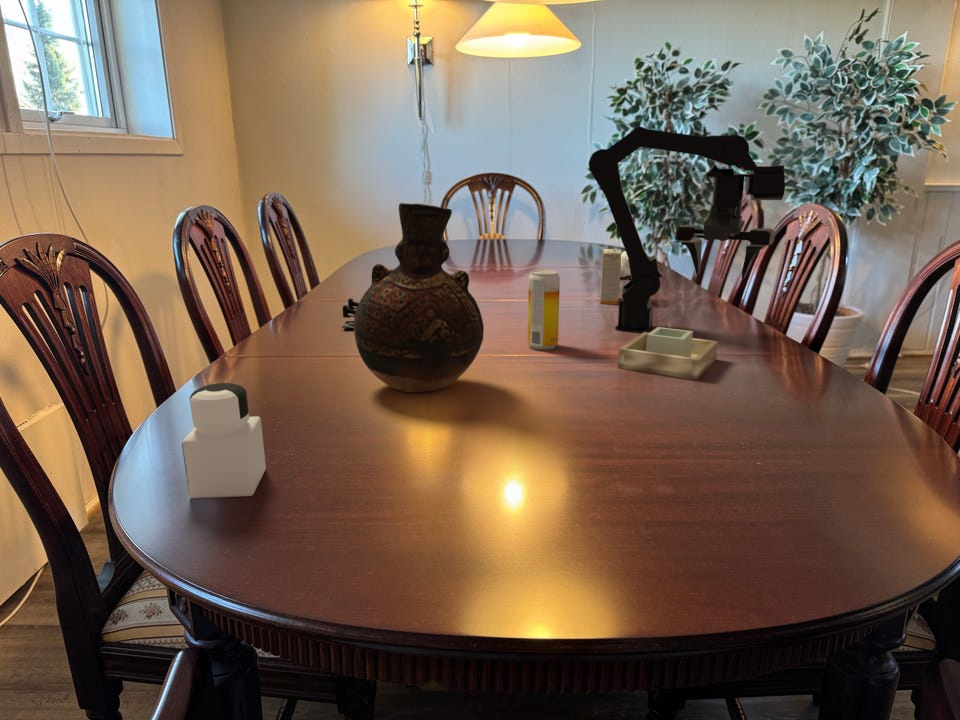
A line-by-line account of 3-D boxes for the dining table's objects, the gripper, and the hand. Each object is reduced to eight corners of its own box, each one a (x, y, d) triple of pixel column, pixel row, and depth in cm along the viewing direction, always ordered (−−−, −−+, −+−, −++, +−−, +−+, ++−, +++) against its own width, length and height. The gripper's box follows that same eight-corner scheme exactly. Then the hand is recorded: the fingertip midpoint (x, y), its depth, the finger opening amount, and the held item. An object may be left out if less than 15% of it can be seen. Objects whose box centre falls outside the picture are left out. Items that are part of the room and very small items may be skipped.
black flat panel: (333, 331, 150) (401, 332, 150) (332, 319, 149) (401, 319, 150) (353, 304, 179) (410, 304, 179) (352, 294, 178) (410, 294, 178)
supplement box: (618, 304, 174) (621, 253, 170) (599, 303, 175) (601, 252, 171) (619, 298, 182) (621, 248, 178) (600, 297, 183) (602, 248, 179)
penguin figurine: (643, 250, 205) (604, 255, 204) (644, 278, 208) (606, 283, 206) (635, 247, 211) (598, 252, 210) (636, 275, 214) (599, 280, 212)
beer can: (561, 344, 138) (564, 270, 134) (552, 352, 133) (553, 275, 129) (533, 341, 141) (535, 268, 136) (522, 348, 136) (523, 273, 131)
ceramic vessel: (345, 403, 106) (332, 206, 98) (368, 369, 123) (359, 198, 114) (481, 405, 105) (479, 206, 97) (485, 370, 122) (485, 198, 113)
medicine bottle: (207, 471, 84) (195, 379, 80) (266, 469, 85) (257, 377, 81) (188, 499, 77) (174, 400, 74) (253, 497, 78) (242, 397, 74)
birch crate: (618, 367, 123) (619, 349, 122) (643, 349, 135) (644, 331, 134) (697, 380, 116) (698, 360, 115) (716, 359, 128) (717, 341, 127)
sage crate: (645, 361, 124) (647, 334, 123) (655, 352, 129) (657, 326, 128) (681, 366, 121) (683, 339, 119) (690, 357, 126) (692, 331, 125)
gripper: (669, 201, 137) (664, 278, 142) (768, 204, 128) (759, 286, 132) (685, 198, 146) (680, 270, 151) (779, 200, 137) (770, 278, 141)
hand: (720, 276), depth 143 cm, fingers open, 9 cm apart
